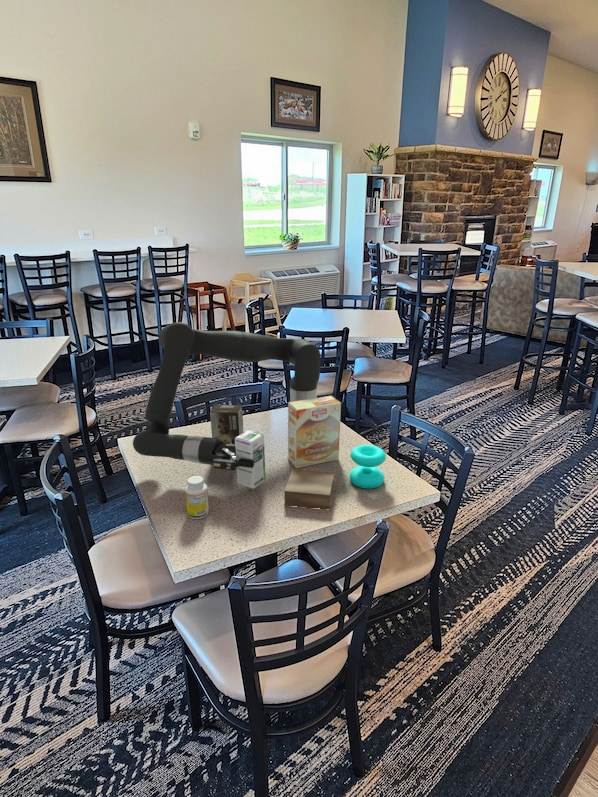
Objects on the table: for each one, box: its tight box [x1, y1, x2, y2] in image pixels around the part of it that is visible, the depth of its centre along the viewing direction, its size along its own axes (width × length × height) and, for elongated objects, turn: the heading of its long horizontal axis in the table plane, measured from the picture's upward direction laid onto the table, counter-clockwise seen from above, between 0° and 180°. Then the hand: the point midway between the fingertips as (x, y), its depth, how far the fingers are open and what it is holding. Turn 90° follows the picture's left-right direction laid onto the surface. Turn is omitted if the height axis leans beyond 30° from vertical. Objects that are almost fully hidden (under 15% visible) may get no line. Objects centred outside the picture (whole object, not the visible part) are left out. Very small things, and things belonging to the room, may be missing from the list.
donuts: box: [349, 444, 387, 490], centre depth 142 cm, size 10×10×10 cm
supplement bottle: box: [184, 475, 210, 520], centre depth 127 cm, size 6×6×10 cm
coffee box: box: [209, 404, 244, 444], centre depth 156 cm, size 9×6×16 cm
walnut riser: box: [284, 468, 336, 509], centre depth 136 cm, size 12×12×5 cm
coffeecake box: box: [287, 395, 342, 469], centre depth 153 cm, size 15×7×20 cm, turn 114°
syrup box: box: [235, 429, 267, 490], centre depth 136 cm, size 6×6×14 cm
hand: (258, 457), depth 136 cm, fingers closed on syrup box, 7 cm apart
